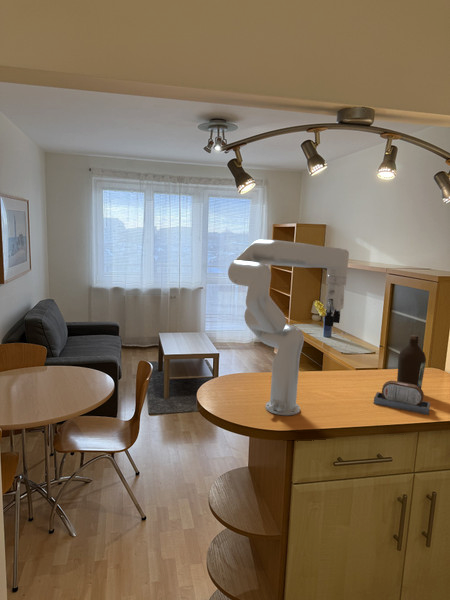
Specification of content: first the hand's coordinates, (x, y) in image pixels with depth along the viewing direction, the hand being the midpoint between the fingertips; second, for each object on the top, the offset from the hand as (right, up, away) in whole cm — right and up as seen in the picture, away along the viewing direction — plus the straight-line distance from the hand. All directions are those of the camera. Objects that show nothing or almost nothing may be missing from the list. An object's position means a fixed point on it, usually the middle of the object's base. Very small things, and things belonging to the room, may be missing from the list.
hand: (332, 324), depth 168 cm
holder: (+27, -32, -1) cm, 42 cm away
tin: (+26, -31, -2) cm, 41 cm away
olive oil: (+36, -30, +14) cm, 49 cm away
